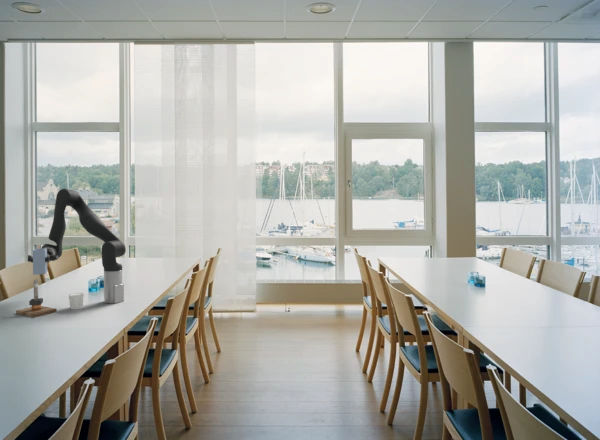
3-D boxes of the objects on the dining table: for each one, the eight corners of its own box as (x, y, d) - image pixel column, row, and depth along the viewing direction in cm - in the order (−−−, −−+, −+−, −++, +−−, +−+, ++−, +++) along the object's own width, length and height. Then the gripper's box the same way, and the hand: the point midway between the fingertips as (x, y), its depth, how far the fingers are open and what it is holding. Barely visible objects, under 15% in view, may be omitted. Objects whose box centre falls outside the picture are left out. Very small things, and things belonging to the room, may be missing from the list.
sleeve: (47, 272, 213) (46, 248, 213) (45, 274, 209) (44, 249, 208) (35, 272, 212) (34, 248, 211) (33, 274, 207) (32, 250, 206)
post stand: (56, 311, 210) (55, 279, 209) (34, 317, 200) (34, 283, 199) (38, 308, 216) (37, 276, 215) (16, 313, 206) (15, 280, 205)
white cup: (80, 305, 222) (80, 292, 222) (86, 307, 218) (86, 294, 218) (66, 307, 217) (66, 294, 217) (72, 310, 213) (72, 296, 212)
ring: (42, 302, 211) (42, 298, 210) (40, 304, 206) (40, 300, 206) (31, 302, 209) (31, 298, 209) (29, 305, 204) (29, 301, 204)
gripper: (29, 248, 220) (21, 253, 204) (61, 247, 225) (55, 252, 210) (30, 262, 221) (22, 268, 205) (61, 261, 226) (55, 267, 210)
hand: (39, 260), depth 207 cm, fingers closed on sleeve, 5 cm apart
